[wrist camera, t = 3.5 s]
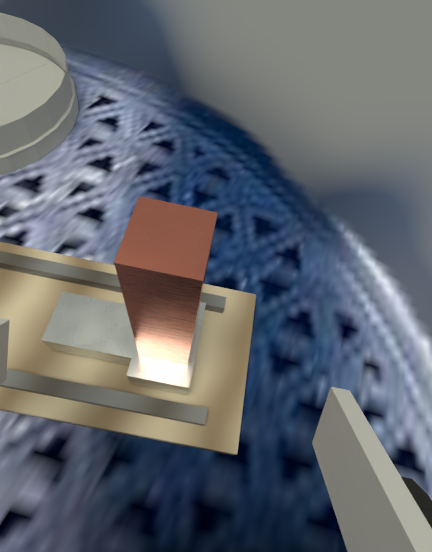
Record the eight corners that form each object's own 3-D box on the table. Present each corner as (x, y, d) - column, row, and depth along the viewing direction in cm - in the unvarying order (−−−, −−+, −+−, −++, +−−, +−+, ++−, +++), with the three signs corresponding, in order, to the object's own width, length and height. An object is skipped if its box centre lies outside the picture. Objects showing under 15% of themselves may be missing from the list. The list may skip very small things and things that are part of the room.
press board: (-201, 371, 23) (-347, 333, 16) (-91, 231, 29) (-167, 163, 22) (233, 455, 24) (257, 451, 17) (252, 302, 30) (275, 255, 23)
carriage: (43, 366, 23) (-93, 258, 11) (76, 290, 26) (-4, 139, 14) (187, 395, 23) (207, 319, 11) (203, 316, 26) (232, 189, 14)
